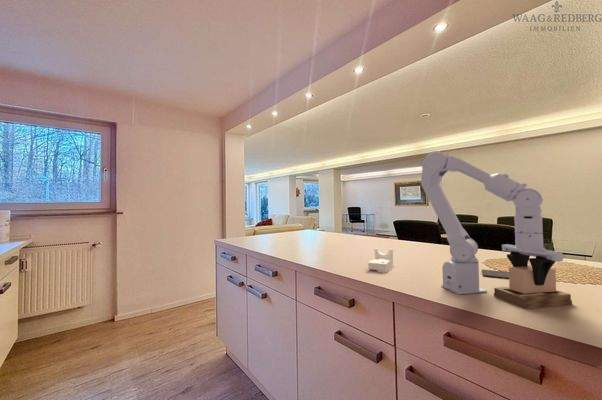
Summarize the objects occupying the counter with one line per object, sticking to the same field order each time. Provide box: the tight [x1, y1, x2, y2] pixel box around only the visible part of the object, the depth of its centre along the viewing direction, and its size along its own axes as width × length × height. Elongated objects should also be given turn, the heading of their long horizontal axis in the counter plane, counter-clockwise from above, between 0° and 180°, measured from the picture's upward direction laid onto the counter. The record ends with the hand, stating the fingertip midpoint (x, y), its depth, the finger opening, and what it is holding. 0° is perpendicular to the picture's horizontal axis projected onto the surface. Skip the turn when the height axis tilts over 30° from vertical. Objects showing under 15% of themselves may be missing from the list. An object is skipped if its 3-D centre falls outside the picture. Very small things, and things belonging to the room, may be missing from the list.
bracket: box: [367, 247, 394, 273], centre depth 109 cm, size 13×7×8 cm, turn 149°
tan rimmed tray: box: [493, 286, 573, 310], centre depth 70 cm, size 14×9×2 cm, turn 98°
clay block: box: [508, 265, 557, 294], centre depth 70 cm, size 10×4×6 cm, turn 98°
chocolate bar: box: [481, 268, 509, 280], centre depth 92 cm, size 9×1×18 cm
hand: (530, 282), depth 70 cm, fingers closed on clay block, 4 cm apart
